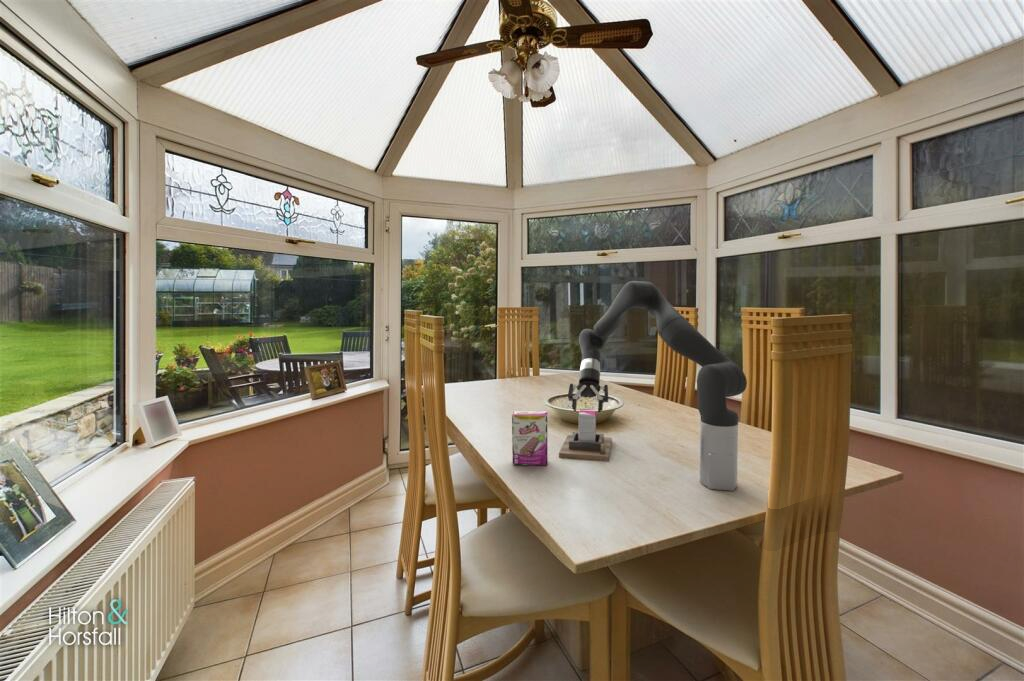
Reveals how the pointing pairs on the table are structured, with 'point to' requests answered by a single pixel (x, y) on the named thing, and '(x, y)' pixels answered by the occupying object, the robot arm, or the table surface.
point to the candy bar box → (530, 437)
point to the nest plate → (586, 448)
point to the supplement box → (587, 426)
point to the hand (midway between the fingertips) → (586, 410)
